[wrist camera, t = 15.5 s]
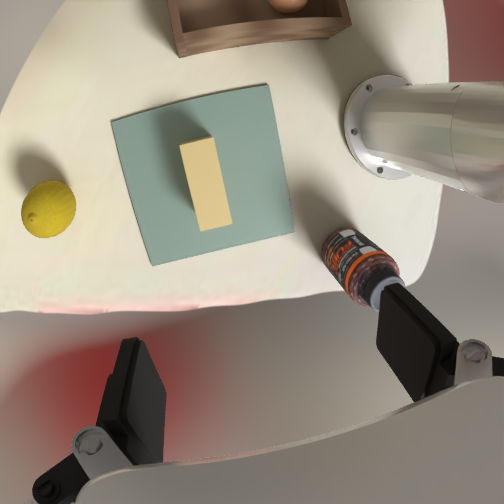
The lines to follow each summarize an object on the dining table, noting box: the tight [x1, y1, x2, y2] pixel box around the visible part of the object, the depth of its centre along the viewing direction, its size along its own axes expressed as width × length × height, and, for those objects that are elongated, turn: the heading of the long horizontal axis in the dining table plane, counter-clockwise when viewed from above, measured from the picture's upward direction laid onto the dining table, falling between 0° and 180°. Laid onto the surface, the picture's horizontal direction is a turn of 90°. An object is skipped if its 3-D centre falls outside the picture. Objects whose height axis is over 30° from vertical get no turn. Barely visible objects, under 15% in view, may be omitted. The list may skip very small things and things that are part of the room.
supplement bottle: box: [322, 228, 405, 312], centre depth 33 cm, size 6×6×11 cm
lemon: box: [21, 180, 76, 238], centre depth 27 cm, size 6×6×8 cm
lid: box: [111, 85, 295, 266], centre depth 30 cm, size 16×16×6 cm
